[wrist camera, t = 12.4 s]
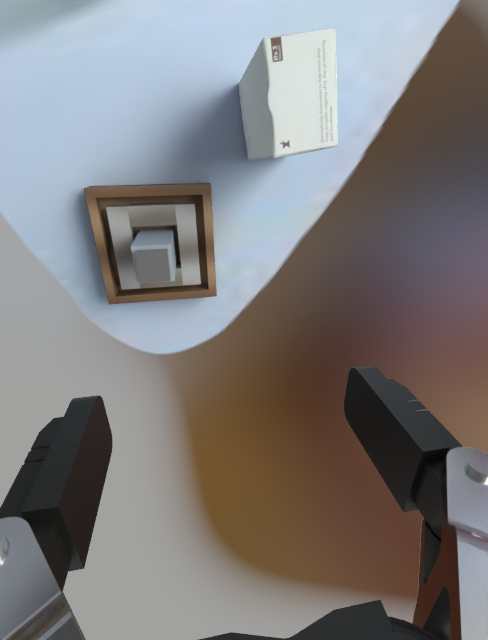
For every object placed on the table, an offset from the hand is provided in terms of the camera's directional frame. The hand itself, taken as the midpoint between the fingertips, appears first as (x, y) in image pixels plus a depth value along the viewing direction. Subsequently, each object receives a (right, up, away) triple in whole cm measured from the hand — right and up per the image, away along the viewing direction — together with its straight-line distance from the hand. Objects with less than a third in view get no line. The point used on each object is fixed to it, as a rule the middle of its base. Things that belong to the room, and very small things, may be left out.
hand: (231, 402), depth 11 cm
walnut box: (-11, +13, +32) cm, 37 cm away
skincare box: (+3, +27, +28) cm, 39 cm away
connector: (-11, +13, +32) cm, 36 cm away
